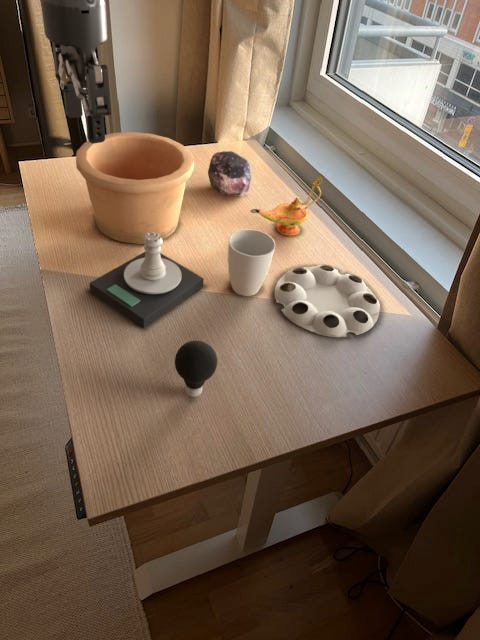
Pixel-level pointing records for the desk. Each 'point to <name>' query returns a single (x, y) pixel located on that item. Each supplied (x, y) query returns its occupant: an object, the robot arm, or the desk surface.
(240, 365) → the desk surface
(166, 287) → the scale
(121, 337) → the desk surface
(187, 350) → the light bulb
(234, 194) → the mineral specimen
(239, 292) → the cup
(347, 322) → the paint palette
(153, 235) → the rook chess piece
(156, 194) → the pottery
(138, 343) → the desk surface
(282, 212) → the magic lamp
